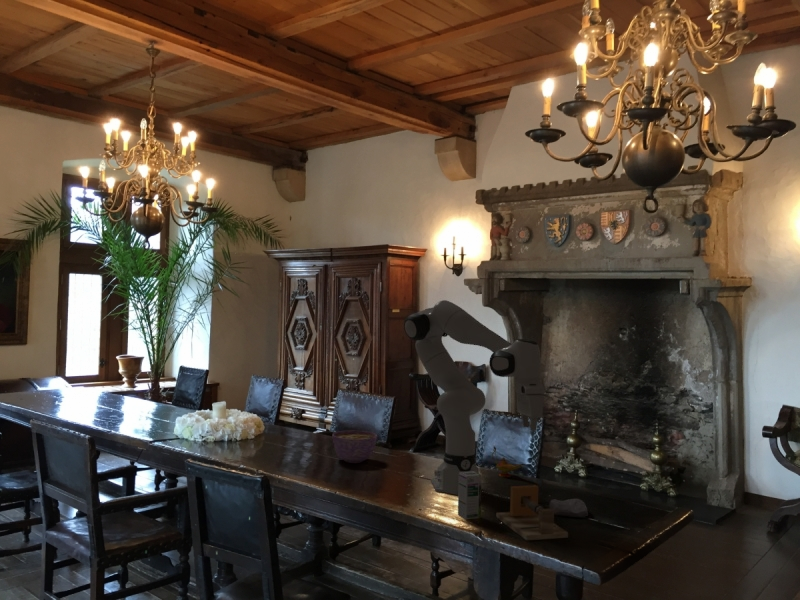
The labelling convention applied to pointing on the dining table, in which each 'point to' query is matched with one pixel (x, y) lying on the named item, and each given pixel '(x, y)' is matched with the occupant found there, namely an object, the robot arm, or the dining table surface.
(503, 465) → the magic lamp
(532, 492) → the collar
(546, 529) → the pipe stand
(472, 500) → the syrup box
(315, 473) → the dining table surface
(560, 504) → the stone block
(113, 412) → the dining table surface
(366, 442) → the bowl of food
